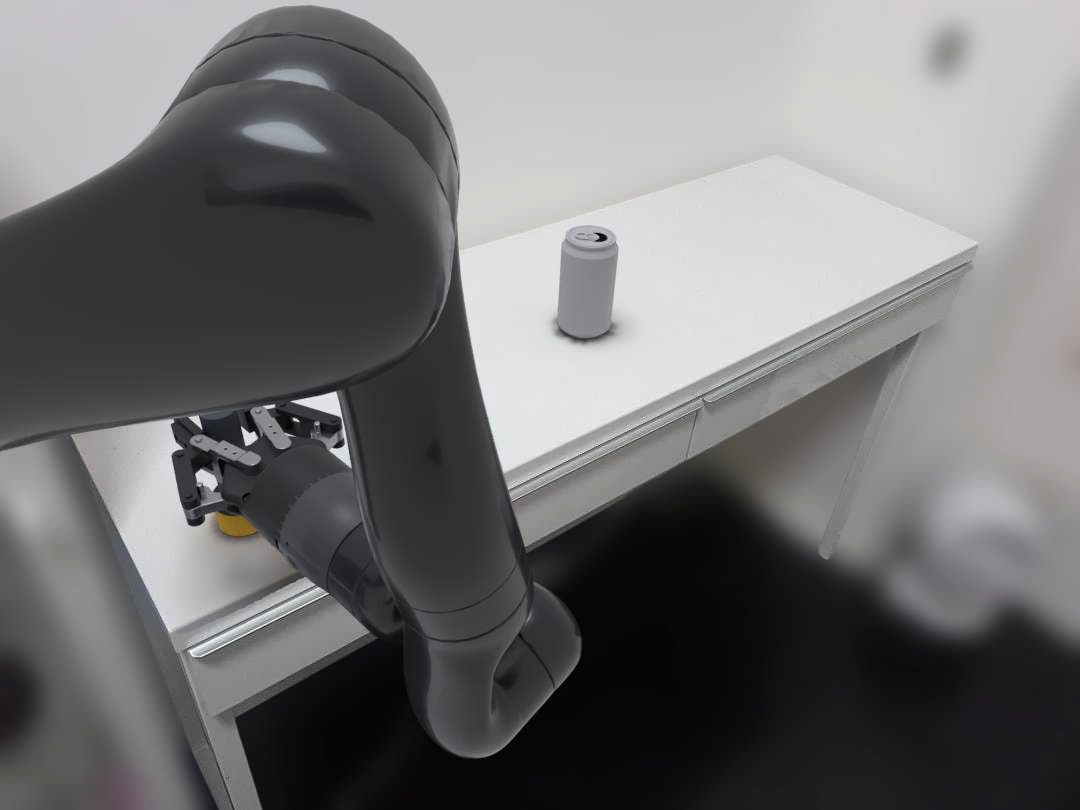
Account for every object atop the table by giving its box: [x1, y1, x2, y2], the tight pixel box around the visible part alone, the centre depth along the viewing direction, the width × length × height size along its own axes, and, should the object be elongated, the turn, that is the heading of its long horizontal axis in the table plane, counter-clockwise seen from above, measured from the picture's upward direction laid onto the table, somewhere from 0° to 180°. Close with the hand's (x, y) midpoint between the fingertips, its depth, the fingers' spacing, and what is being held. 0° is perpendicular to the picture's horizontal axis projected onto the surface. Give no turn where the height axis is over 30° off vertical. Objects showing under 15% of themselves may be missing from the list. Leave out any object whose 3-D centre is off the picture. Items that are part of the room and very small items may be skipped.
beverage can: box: [556, 224, 620, 339], centre depth 93 cm, size 6×6×12 cm
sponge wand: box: [198, 410, 258, 537], centre depth 66 cm, size 4×4×12 cm
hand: (203, 412), depth 65 cm, fingers open, 3 cm apart
